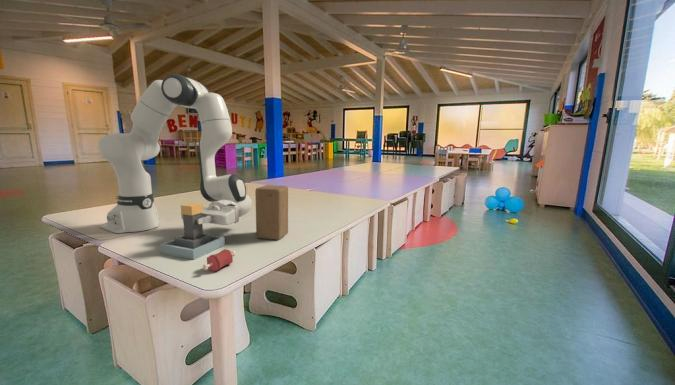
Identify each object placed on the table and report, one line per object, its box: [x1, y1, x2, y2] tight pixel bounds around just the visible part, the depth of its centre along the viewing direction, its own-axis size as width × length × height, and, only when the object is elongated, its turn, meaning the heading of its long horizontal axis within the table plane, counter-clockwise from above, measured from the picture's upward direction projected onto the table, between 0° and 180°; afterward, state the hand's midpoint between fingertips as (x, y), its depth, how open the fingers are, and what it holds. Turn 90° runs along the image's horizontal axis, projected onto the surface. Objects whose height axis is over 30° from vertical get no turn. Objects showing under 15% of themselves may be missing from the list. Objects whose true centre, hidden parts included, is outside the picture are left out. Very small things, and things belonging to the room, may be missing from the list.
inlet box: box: [159, 232, 226, 261], centre depth 97 cm, size 14×14×4 cm
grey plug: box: [180, 202, 204, 240], centre depth 96 cm, size 5×5×14 cm
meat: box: [202, 248, 236, 272], centre depth 84 cm, size 12×5×5 cm, turn 158°
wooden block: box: [255, 184, 289, 241], centre depth 112 cm, size 10×10×20 cm
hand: (190, 220), depth 95 cm, fingers closed on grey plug, 4 cm apart
